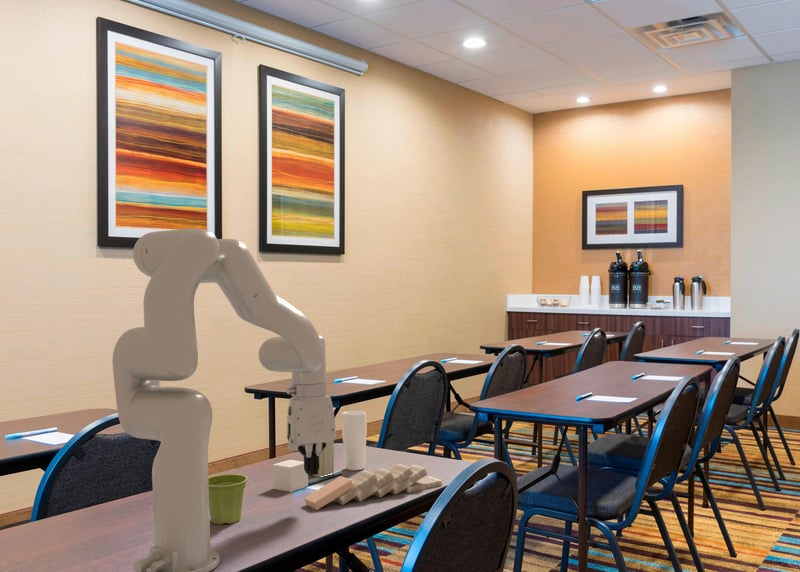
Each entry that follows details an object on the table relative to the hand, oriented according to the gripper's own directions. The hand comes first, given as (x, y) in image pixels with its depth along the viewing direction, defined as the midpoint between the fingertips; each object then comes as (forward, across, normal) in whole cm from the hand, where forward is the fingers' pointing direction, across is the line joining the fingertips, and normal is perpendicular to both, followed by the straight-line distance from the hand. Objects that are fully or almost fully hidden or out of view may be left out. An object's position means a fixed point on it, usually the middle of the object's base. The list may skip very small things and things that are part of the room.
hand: (311, 473), depth 168 cm
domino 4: (+7, +15, 0) cm, 17 cm away
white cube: (+8, +3, +19) cm, 21 cm away
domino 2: (+7, +6, 0) cm, 9 cm away
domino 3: (+7, +10, 0) cm, 12 cm away
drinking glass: (+8, +25, +26) cm, 37 cm away
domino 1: (+7, 0, 0) cm, 7 cm away
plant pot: (+8, -19, +3) cm, 20 cm away
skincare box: (+8, +14, +26) cm, 31 cm away
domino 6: (+7, +23, 0) cm, 24 cm away
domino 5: (+7, +19, 0) cm, 21 cm away
